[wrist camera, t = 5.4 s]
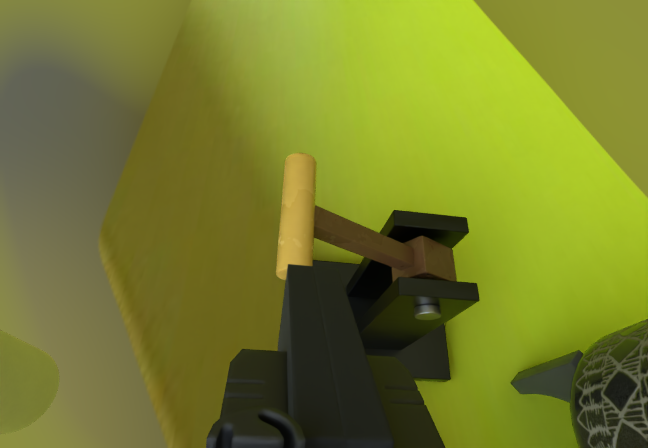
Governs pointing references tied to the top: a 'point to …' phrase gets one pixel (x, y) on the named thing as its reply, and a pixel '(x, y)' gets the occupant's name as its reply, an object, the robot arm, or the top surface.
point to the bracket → (408, 299)
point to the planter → (600, 388)
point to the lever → (346, 232)
